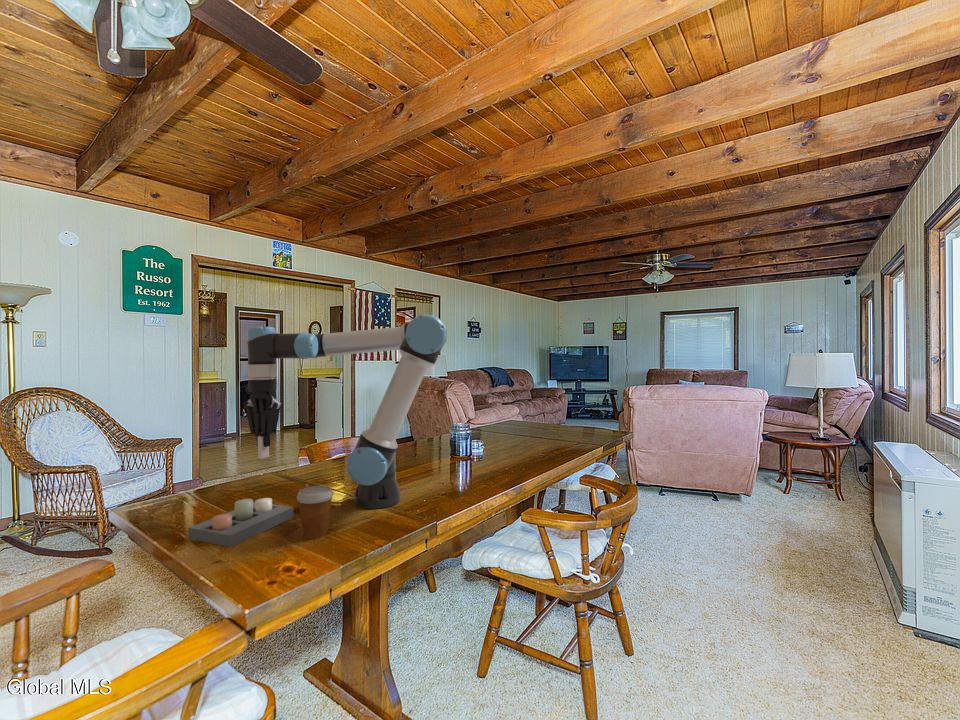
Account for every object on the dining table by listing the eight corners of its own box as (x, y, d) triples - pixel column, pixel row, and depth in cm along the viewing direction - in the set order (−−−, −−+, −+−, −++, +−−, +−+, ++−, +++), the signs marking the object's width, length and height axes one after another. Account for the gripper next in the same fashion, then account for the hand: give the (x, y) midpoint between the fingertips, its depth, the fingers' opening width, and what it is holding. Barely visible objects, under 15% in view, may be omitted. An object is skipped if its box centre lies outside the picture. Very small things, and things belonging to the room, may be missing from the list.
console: (293, 517, 135) (293, 507, 135) (230, 546, 114) (230, 535, 114) (255, 511, 140) (255, 501, 140) (188, 538, 120) (188, 527, 119)
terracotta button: (236, 532, 122) (235, 514, 122) (221, 539, 118) (221, 520, 118) (223, 530, 124) (223, 512, 124) (208, 537, 119) (208, 518, 119)
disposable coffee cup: (297, 543, 116) (296, 498, 116) (296, 530, 125) (296, 487, 125) (335, 537, 120) (335, 493, 120) (332, 525, 129) (331, 483, 128)
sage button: (256, 517, 129) (256, 499, 129) (243, 522, 124) (243, 504, 124) (244, 515, 130) (244, 498, 130) (231, 520, 126) (230, 503, 126)
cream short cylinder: (275, 515, 135) (275, 498, 135) (263, 520, 131) (263, 503, 131) (263, 513, 137) (263, 497, 137) (251, 518, 132) (251, 501, 132)
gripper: (289, 378, 135) (290, 456, 135) (255, 377, 139) (256, 453, 139) (269, 379, 128) (270, 461, 128) (235, 379, 132) (236, 458, 132)
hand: (263, 457), depth 134 cm, fingers closed
